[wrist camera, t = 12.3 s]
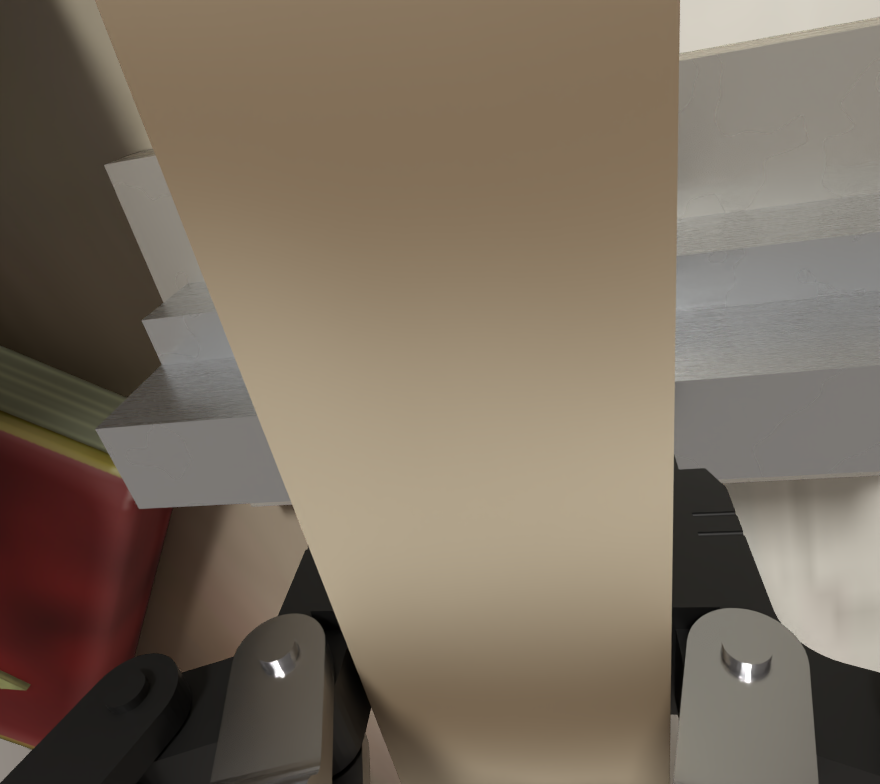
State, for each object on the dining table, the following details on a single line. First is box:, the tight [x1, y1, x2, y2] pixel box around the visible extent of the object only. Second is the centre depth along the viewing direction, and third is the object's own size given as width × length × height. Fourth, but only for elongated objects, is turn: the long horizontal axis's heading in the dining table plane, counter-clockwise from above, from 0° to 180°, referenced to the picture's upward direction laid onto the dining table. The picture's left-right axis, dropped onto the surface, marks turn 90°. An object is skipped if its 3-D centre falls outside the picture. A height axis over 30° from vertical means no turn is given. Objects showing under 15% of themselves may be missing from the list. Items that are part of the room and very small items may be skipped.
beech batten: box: [95, 0, 680, 784], centre depth 10 cm, size 22×4×5 cm, turn 10°
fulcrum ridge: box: [95, 17, 880, 509], centre depth 16 cm, size 21×12×7 cm, turn 100°
